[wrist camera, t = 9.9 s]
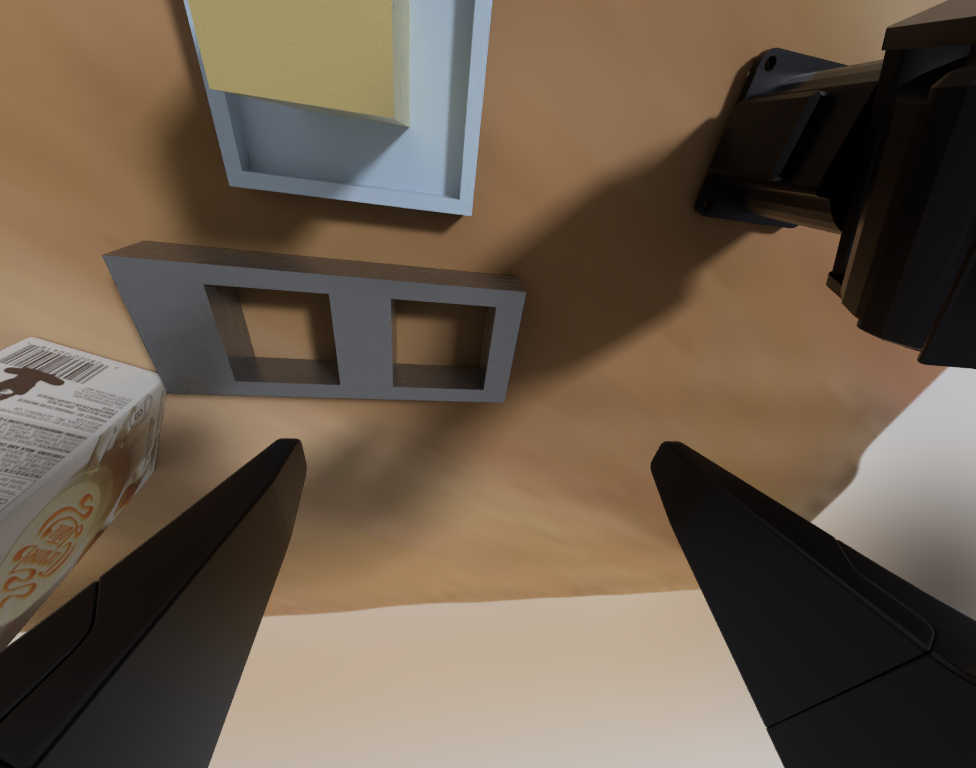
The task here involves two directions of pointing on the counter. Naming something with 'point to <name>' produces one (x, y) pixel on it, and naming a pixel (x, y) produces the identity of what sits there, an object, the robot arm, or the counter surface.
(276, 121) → the tray
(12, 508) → the coffee box
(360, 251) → the counter surface
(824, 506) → the counter surface
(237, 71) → the brushed brass block
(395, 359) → the plate with rectangular hole
